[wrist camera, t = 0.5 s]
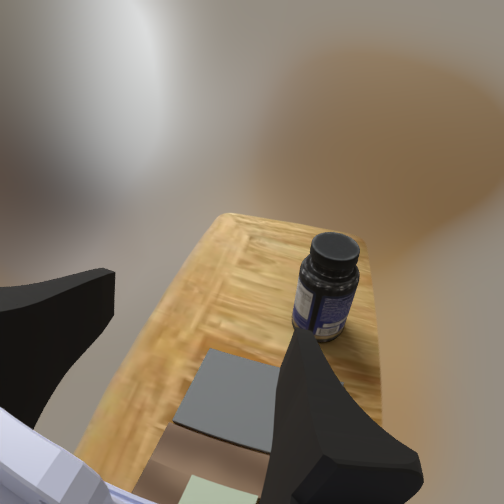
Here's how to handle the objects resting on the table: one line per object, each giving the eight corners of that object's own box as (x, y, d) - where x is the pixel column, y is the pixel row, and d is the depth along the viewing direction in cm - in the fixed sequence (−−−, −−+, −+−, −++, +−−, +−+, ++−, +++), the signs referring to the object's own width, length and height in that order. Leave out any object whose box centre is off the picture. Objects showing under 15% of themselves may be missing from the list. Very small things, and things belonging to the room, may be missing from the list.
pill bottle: (347, 314, 38) (371, 238, 31) (335, 351, 33) (363, 273, 27) (300, 299, 40) (314, 221, 33) (282, 334, 35) (295, 253, 28)
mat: (325, 466, 23) (327, 464, 22) (173, 421, 26) (172, 419, 25) (342, 384, 30) (343, 382, 29) (210, 350, 33) (209, 348, 32)
